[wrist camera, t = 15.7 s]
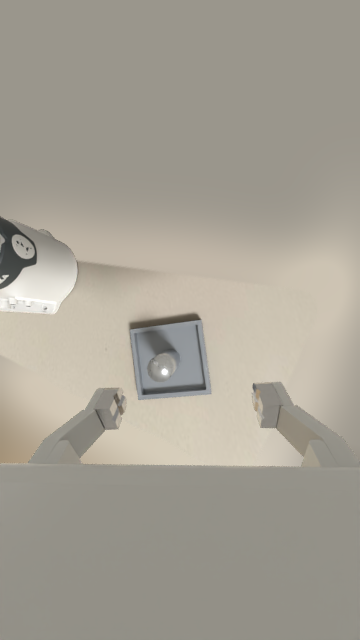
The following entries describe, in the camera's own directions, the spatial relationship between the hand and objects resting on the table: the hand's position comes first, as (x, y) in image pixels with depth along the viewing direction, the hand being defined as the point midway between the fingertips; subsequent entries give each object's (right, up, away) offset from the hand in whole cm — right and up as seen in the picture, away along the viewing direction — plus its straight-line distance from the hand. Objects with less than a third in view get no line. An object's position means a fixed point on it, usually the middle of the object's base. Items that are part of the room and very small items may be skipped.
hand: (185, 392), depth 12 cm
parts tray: (-2, -3, +26) cm, 26 cm away
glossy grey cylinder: (-2, -3, +25) cm, 25 cm away
